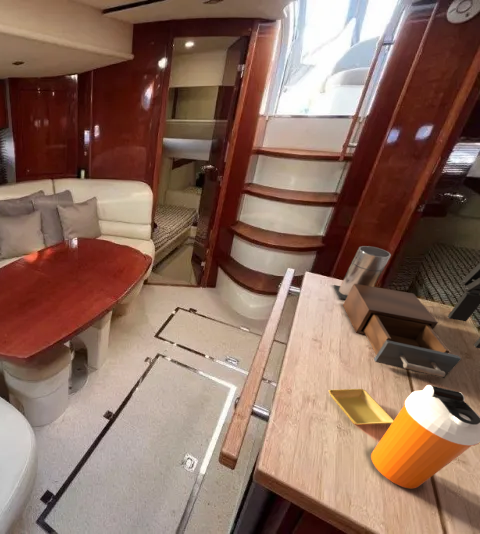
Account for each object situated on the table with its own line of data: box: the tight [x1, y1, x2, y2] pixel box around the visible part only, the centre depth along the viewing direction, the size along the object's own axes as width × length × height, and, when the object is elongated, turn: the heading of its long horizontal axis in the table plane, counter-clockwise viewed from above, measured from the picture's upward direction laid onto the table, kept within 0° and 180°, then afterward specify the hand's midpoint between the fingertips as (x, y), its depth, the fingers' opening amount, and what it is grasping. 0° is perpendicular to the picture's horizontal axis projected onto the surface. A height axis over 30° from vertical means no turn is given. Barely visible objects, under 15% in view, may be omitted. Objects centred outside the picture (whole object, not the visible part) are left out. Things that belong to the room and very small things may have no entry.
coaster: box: [333, 284, 347, 301], centre depth 108 cm, size 9×9×1 cm
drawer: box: [364, 313, 462, 379], centre depth 80 cm, size 18×14×7 cm
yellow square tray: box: [328, 388, 395, 426], centre depth 69 cm, size 9×9×2 cm
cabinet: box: [342, 284, 439, 336], centre depth 92 cm, size 15×15×9 cm
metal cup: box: [338, 245, 392, 297], centre depth 103 cm, size 8×8×17 cm
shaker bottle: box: [370, 384, 480, 489], centre depth 54 cm, size 9×9×20 cm
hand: (469, 332), depth 63 cm, fingers open, 9 cm apart
